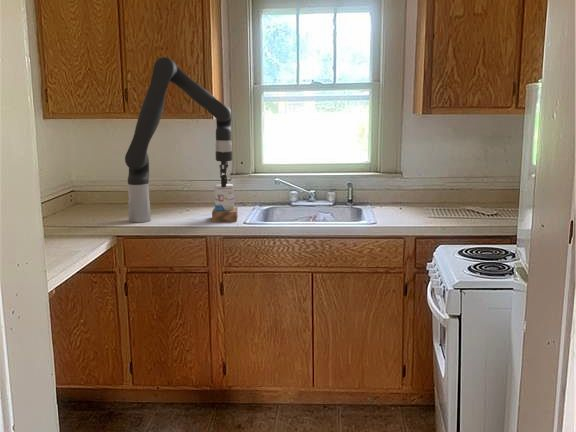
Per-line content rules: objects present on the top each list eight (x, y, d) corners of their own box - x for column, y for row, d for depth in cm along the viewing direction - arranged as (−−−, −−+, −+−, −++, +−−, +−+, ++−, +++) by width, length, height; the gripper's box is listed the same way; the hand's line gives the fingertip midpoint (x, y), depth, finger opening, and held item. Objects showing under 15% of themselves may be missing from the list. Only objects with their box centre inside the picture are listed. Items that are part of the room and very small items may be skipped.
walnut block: (212, 223, 263) (212, 212, 262) (214, 218, 274) (214, 207, 273) (236, 222, 264) (236, 211, 263) (237, 217, 274) (237, 207, 273)
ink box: (215, 211, 264) (214, 185, 262) (214, 209, 269) (213, 184, 267) (234, 210, 266) (233, 184, 264) (233, 208, 271) (232, 183, 269)
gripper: (216, 148, 269) (217, 183, 272) (214, 151, 255) (214, 188, 258) (232, 148, 269) (233, 183, 273) (231, 151, 255) (231, 188, 259)
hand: (224, 185), depth 265 cm, fingers open, 8 cm apart
